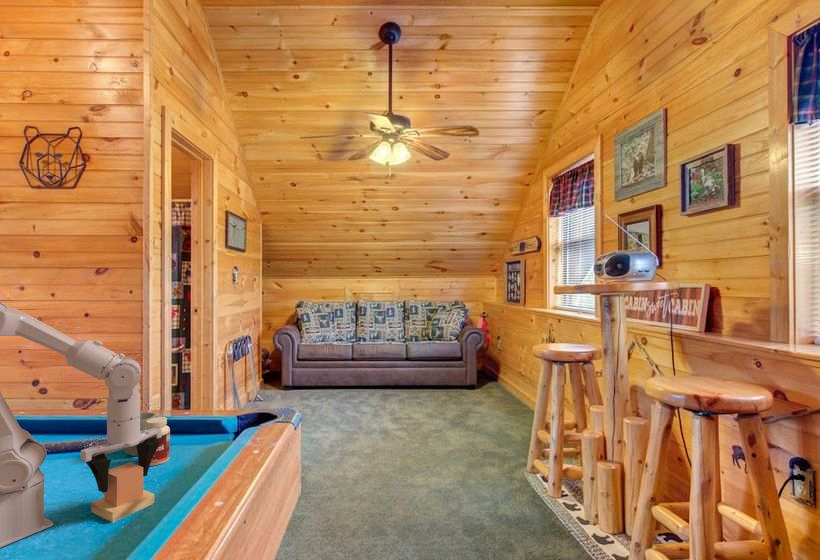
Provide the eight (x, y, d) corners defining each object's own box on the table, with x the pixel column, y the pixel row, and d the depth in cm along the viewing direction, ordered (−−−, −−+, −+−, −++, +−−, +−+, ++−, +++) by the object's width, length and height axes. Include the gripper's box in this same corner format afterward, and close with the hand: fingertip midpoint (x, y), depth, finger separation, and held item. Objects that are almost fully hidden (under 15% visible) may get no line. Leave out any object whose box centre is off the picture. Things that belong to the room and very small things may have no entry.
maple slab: (112, 525, 80) (112, 512, 80) (91, 514, 84) (91, 502, 84) (154, 505, 87) (154, 494, 87) (133, 496, 91) (133, 485, 91)
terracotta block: (116, 507, 82) (117, 477, 82) (104, 500, 84) (104, 471, 85) (143, 495, 86) (143, 467, 86) (130, 489, 89) (130, 462, 89)
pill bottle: (138, 468, 103) (138, 424, 104) (146, 458, 109) (146, 417, 109) (166, 465, 105) (166, 422, 105) (172, 455, 111) (172, 414, 111)
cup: (114, 456, 110) (114, 419, 110) (141, 445, 118) (141, 411, 118) (136, 460, 108) (136, 422, 108) (162, 448, 116) (162, 413, 116)
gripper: (93, 432, 77) (93, 504, 77) (169, 411, 90) (169, 472, 90) (75, 425, 81) (75, 494, 81) (151, 406, 93) (151, 465, 93)
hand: (123, 482), depth 85 cm, fingers open, 7 cm apart
